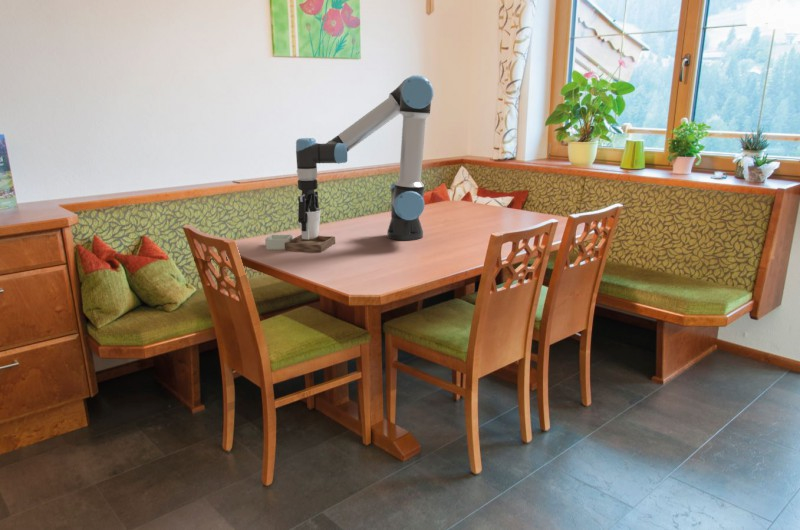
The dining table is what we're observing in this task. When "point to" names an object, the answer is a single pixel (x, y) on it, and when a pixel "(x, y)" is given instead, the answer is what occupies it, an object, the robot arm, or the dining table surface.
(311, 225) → the cup
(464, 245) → the dining table surface
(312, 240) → the brown square tray
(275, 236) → the small crate
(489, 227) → the dining table surface
